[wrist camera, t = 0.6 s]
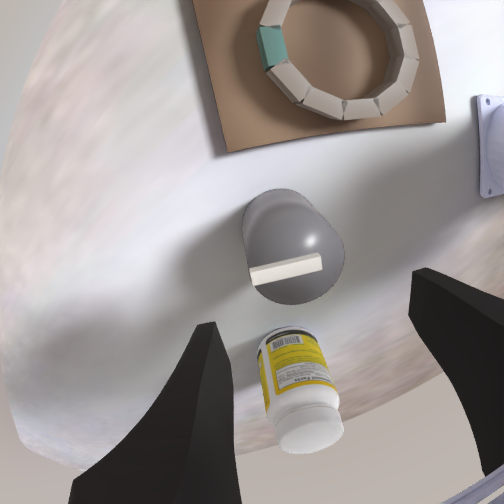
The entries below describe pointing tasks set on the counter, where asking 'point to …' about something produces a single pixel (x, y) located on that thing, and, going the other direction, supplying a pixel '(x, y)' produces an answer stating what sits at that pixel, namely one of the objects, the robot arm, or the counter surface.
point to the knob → (290, 248)
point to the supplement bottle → (298, 391)
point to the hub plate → (318, 67)
